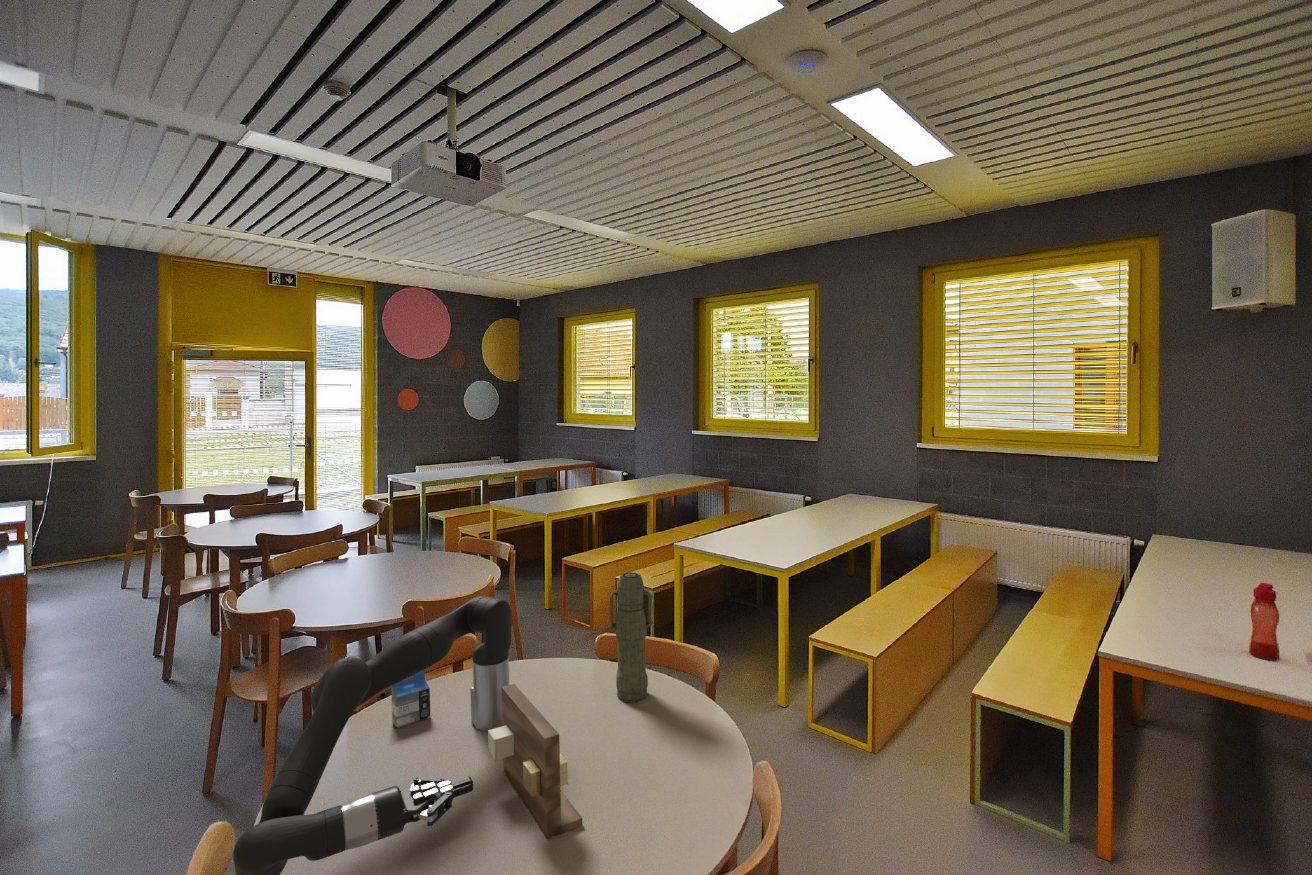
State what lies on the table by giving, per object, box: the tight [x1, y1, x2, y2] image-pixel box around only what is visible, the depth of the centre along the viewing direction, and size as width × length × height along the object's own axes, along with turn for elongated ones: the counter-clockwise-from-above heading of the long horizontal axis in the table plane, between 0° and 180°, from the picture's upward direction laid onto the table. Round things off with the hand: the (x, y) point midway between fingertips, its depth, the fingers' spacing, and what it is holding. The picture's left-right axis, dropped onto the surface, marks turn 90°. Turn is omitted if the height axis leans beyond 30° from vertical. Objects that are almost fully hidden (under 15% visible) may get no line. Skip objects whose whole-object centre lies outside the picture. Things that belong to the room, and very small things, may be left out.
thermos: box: [609, 571, 653, 704], centre depth 180 cm, size 9×12×35 cm
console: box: [501, 683, 583, 840], centre depth 135 cm, size 8×26×20 cm, turn 32°
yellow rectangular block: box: [523, 753, 569, 797], centre depth 127 cm, size 8×5×5 cm, turn 122°
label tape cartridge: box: [391, 669, 432, 729], centre depth 168 cm, size 9×4×12 cm, turn 129°
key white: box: [487, 725, 514, 762], centre depth 139 cm, size 8×5×5 cm, turn 122°
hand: (471, 783), depth 119 cm, fingers closed
